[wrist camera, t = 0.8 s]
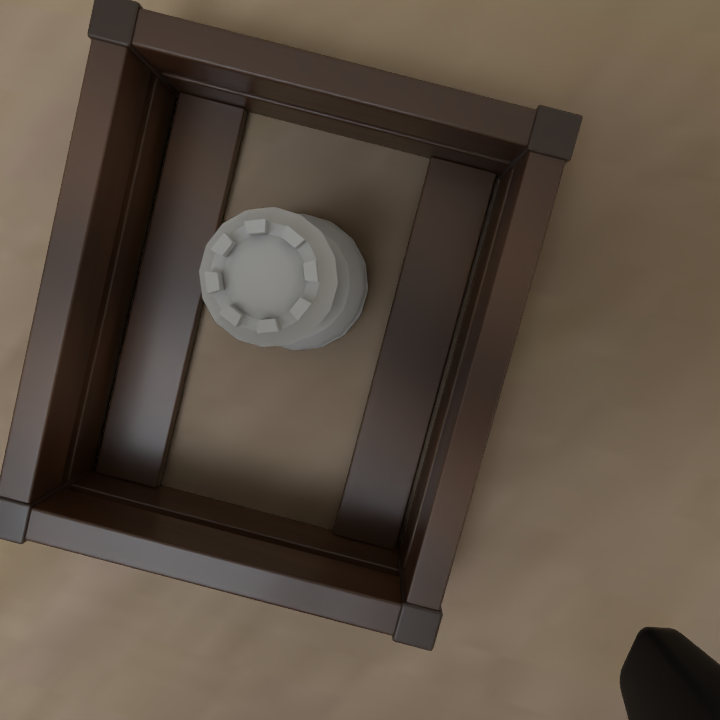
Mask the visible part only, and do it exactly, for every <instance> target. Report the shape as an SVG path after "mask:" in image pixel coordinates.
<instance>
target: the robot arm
mask: <svg viewBox="0 0 720 720" xmlns="http://www.w3.org/2000/svg"><path fill="white" fill-rule="evenodd" d="M620 688H621V693H622V696H623V700H624V704H625V708H626V711H627V715H628V719H629V720H720V664H718V663H717V662H716V661H715V660H713V659H712V658H711V657H710V656H708V655H707V654H706V653H705V652H704V651H702V650H701V649H700V648H699V647H697V646H696V645H695V644H694V643H692V642H691V641H690V640H689V639H687V638H686V637H685V636H684V635H683V634H681V633H680V632H678V631H677V630H675V629H671V628H659V627H645V628H643V629H642V630H640V631H639V632H638V634H637V636H636V638H635V641H634V643H633V645H632V647H631V649H630V651H629V654H628V656H627V658H626V660H625V662H624V665H623V667H622V670H621V674H620Z"/></svg>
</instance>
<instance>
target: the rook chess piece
mask: <svg viewBox="0 0 720 720" xmlns="http://www.w3.org/2000/svg"><path fill="white" fill-rule="evenodd" d="M199 275H200V283H201V291H202V299H203V300H204V302H205V304H206V306H207V308H208V309H209V311H210V313H211V315H212V317H213V318H214V320H215V322H216V323H217V324H218V325H220V326H221V327H222V328H223V329H225V330H226V331H227V332H228V333H230V334H231V335H232V336H233V337H235V338H236V339H237V340H240V341H244V342H247V343H250V344H254V345H257V346H261V347H270V346H279V347H283V348H286V349H289V350H303V349H313V348H321V347H323V346H325V345H327V344H329V343H331V342H333V341H334V340H336V339H338V338H340V337H342V336H344V335H345V334H346V332H347V331H348V330H349V329H350V327H351V326H352V325H353V324H354V322H355V321H356V320H357V319H358V318H359V316H360V315H361V312H362V309H363V306H364V302H365V299H366V295H367V292H368V281H367V271H366V262H365V261H364V259H363V257H362V255H361V253H360V251H359V249H358V248H357V246H356V244H355V242H354V240H353V239H352V238H351V237H350V236H349V235H347V234H346V233H345V232H344V231H343V230H341V229H340V228H339V227H338V226H336V225H335V224H334V223H333V222H331V221H327V220H324V219H321V218H317V217H314V216H311V215H307V214H304V213H302V214H296V213H293V212H290V211H286V210H283V209H280V208H276V207H268V208H259V209H250V210H246V211H244V212H242V213H240V214H238V215H237V216H235V217H233V218H231V219H230V220H228V221H226V222H224V223H223V224H222V225H221V226H220V228H219V229H218V230H217V232H216V233H215V234H214V235H213V237H212V238H211V239H210V241H209V242H208V243H207V244H206V247H205V251H204V255H203V258H202V262H201V266H200V270H199Z"/></svg>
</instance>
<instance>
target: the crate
mask: <svg viewBox="0 0 720 720" xmlns="http://www.w3.org/2000/svg"><path fill="white" fill-rule="evenodd" d="M88 37H89V38H90V39H91V40H92V41H91V46H90V51H89V55H88V60H87V65H86V70H85V75H84V79H83V84H82V89H81V94H80V98H79V103H78V108H77V113H76V117H75V122H74V127H73V132H72V136H71V141H70V146H69V151H68V156H67V160H66V165H65V170H64V175H63V179H62V184H61V189H60V194H59V198H58V203H57V208H56V213H55V218H54V222H53V227H52V232H51V237H50V241H49V246H48V251H47V256H46V260H45V265H44V270H43V275H42V280H41V284H40V289H39V294H38V299H37V303H36V308H35V313H34V318H33V322H32V327H31V332H30V337H29V341H28V346H27V351H26V356H25V361H24V365H23V370H22V375H21V380H20V384H19V389H18V394H17V399H16V403H15V408H14V413H13V418H12V423H11V427H10V432H9V437H8V442H7V446H6V451H5V456H4V461H3V465H2V470H1V475H0V539H3V540H7V541H11V542H15V543H19V544H23V543H25V542H26V541H32V542H36V543H39V544H43V545H47V546H51V547H55V548H59V549H62V550H66V551H70V552H74V553H78V554H82V555H85V556H89V557H93V558H97V559H101V560H105V561H108V562H112V563H116V564H120V565H124V566H128V567H131V568H135V569H139V570H143V571H147V572H150V573H154V574H158V575H162V576H166V577H170V578H173V579H177V580H181V581H185V582H189V583H193V584H196V585H200V586H204V587H208V588H212V589H216V590H219V591H223V592H227V593H231V594H235V595H239V596H242V597H246V598H250V599H254V600H258V601H262V602H265V603H269V604H273V605H277V606H281V607H284V608H288V609H292V610H296V611H300V612H304V613H307V614H311V615H315V616H319V617H323V618H327V619H330V620H334V621H338V622H342V623H346V624H350V625H353V626H357V627H361V628H365V629H369V630H373V631H376V632H380V633H384V634H388V635H392V639H393V641H395V642H398V643H402V644H406V645H410V646H414V647H418V648H421V649H425V650H429V651H432V649H433V648H434V644H435V641H436V637H437V633H438V630H439V626H440V623H441V619H442V616H443V613H442V608H441V604H442V600H443V597H444V593H445V590H446V586H447V583H448V579H449V575H450V572H451V568H452V565H453V561H454V558H455V554H456V551H457V547H458V543H459V540H460V536H461V533H462V529H463V526H464V522H465V518H466V515H467V511H468V508H469V504H470V501H471V497H472V493H473V490H474V486H475V483H476V479H477V476H478V472H479V468H480V465H481V461H482V458H483V454H484V451H485V447H486V443H487V440H488V436H489V433H490V429H491V426H492V422H493V418H494V415H495V411H496V408H497V404H498V401H499V397H500V393H501V390H502V386H503V383H504V379H505V376H506V372H507V369H508V365H509V361H510V358H511V354H512V351H513V347H514V344H515V340H516V336H517V333H518V329H519V326H520V322H521V319H522V315H523V311H524V308H525V304H526V301H527V297H528V294H529V290H530V286H531V283H532V279H533V276H534V272H535V269H536V265H537V261H538V258H539V254H540V251H541V247H542V244H543V240H544V236H545V233H546V229H547V226H548V222H549V219H550V215H551V211H552V208H553V204H554V201H555V197H556V194H557V190H558V187H559V183H560V179H561V176H562V172H563V169H564V165H565V164H566V163H567V162H568V161H570V160H571V157H572V154H573V150H574V146H575V143H576V139H577V136H578V132H579V129H580V125H581V122H582V116H581V115H578V114H574V113H570V112H566V111H562V110H558V109H554V108H550V107H546V106H542V105H539V106H538V107H537V109H536V110H535V109H532V108H528V107H524V106H520V105H516V104H512V103H508V102H504V101H500V100H497V99H493V98H489V97H485V96H481V95H477V94H473V93H469V92H465V91H461V90H458V89H454V88H450V87H446V86H442V85H438V84H434V83H430V82H426V81H422V80H419V79H415V78H411V77H407V76H403V75H399V74H395V73H391V72H387V71H383V70H380V69H376V68H372V67H368V66H364V65H360V64H356V63H352V62H348V61H345V60H341V59H337V58H333V57H329V56H325V55H321V54H317V53H313V52H309V51H306V50H302V49H298V48H294V47H290V46H286V45H282V44H278V43H274V42H270V41H267V40H263V39H259V38H255V37H251V36H247V35H243V34H239V33H235V32H231V31H228V30H224V29H220V28H216V27H212V26H208V25H204V24H200V23H196V22H193V21H189V20H185V19H181V18H177V17H173V16H169V15H165V14H161V13H157V12H154V11H150V10H146V9H143V7H142V6H141V5H140V4H139V3H138V2H136V1H132V0H94V5H93V10H92V15H91V20H90V24H89V29H88ZM176 96H179V97H178V102H177V106H176V111H175V115H174V120H173V124H172V129H171V133H170V138H169V142H168V147H167V151H166V155H165V160H164V164H163V169H162V173H161V178H160V182H159V187H158V191H157V196H156V200H155V205H154V209H153V214H152V218H151V223H150V227H149V231H148V236H147V240H146V245H145V249H144V254H143V258H142V263H141V267H140V272H139V276H138V281H137V285H136V290H135V294H134V299H133V303H132V308H131V312H130V316H129V321H128V325H127V330H126V334H125V339H124V343H123V348H122V352H121V357H120V361H119V366H118V370H117V375H116V379H115V384H114V388H113V393H112V397H111V401H110V406H109V410H108V415H107V419H106V424H105V428H104V433H103V437H102V442H101V446H100V451H99V455H98V460H97V464H96V466H94V463H95V459H96V454H97V450H98V445H99V441H100V436H101V432H102V428H103V423H104V419H105V414H106V410H107V405H108V401H109V396H110V392H111V387H112V383H113V378H114V374H115V369H116V365H117V360H118V356H119V351H120V347H121V342H122V338H123V333H124V329H125V325H126V320H127V316H128V311H129V307H130V302H131V298H132V293H133V289H134V284H135V280H136V275H137V271H138V266H139V262H140V257H141V253H142V248H143V244H144V239H145V235H146V230H147V226H148V221H149V217H150V213H151V208H152V204H153V199H154V195H155V190H156V186H157V181H158V177H159V172H160V168H161V163H162V159H163V154H164V150H165V145H166V141H167V136H168V132H169V127H170V123H171V118H172V114H173V110H174V105H175V101H176ZM247 111H248V112H252V113H256V114H260V115H264V116H268V117H272V118H275V119H279V120H283V121H287V122H291V123H295V124H299V125H303V126H307V127H310V128H314V129H318V130H322V131H326V132H330V133H334V134H338V135H342V136H345V137H349V138H353V139H357V140H361V141H365V142H369V143H373V144H377V145H380V146H384V147H388V148H392V149H396V150H400V151H404V152H408V153H412V154H415V155H419V156H423V157H427V158H431V159H430V162H429V166H428V169H427V173H426V177H425V181H424V185H423V188H422V192H421V196H420V200H419V204H418V208H417V211H416V215H415V219H414V223H413V227H412V231H411V234H410V238H409V242H408V246H407V250H406V254H405V257H404V261H403V265H402V269H401V273H400V277H399V280H398V284H397V288H396V292H395V296H394V300H393V303H392V307H391V311H390V315H389V319H388V323H387V326H386V330H385V334H384V338H383V342H382V346H381V349H380V353H379V357H378V361H377V365H376V369H375V372H374V376H373V380H372V384H371V388H370V392H369V395H368V399H367V403H366V407H365V411H364V415H363V418H362V422H361V426H360V430H359V434H358V438H357V441H356V445H355V449H354V453H353V457H352V460H351V464H350V468H349V472H348V476H347V480H346V483H345V487H344V491H343V495H342V499H341V503H340V506H339V510H338V514H337V518H336V522H335V526H334V530H329V529H325V528H321V527H318V526H314V525H310V524H306V523H302V522H298V521H294V520H291V519H287V518H283V517H279V516H275V515H271V514H268V513H264V512H260V511H256V510H252V509H248V508H245V507H241V506H237V505H233V504H229V503H225V502H222V501H218V500H214V499H210V498H206V497H202V496H199V495H195V494H191V493H187V492H183V491H179V490H175V489H172V488H168V487H164V486H160V484H161V481H162V476H163V472H164V468H165V463H166V459H167V455H168V451H169V446H170V442H171V438H172V434H173V429H174V425H175V421H176V416H177V412H178V408H179V404H180V399H181V395H182V391H183V386H184V382H185V378H186V374H187V369H188V365H189V361H190V356H191V352H192V348H193V344H194V339H195V335H196V331H197V327H198V322H199V318H200V314H201V309H202V305H203V301H204V300H203V299H202V291H201V283H200V275H199V270H200V266H201V262H202V258H203V255H204V251H205V247H206V244H207V243H208V242H209V241H210V239H211V238H212V237H213V235H214V234H215V233H216V232H217V230H218V229H219V228H220V226H221V224H222V220H223V215H224V211H225V207H226V202H227V198H228V194H229V190H230V185H231V181H232V177H233V173H234V168H235V164H236V160H237V155H238V151H239V147H240V143H241V138H242V134H243V130H244V125H245V121H246V117H247ZM496 176H498V179H500V183H499V187H498V191H497V194H496V198H495V202H494V205H493V209H492V213H491V216H490V220H489V224H488V227H487V231H486V235H485V238H484V242H483V246H482V249H481V253H480V257H479V260H478V264H477V268H476V272H475V275H474V279H473V283H472V286H471V290H470V294H469V297H468V301H467V305H466V308H465V312H464V316H463V319H462V323H461V327H460V330H459V334H458V338H457V341H456V345H455V349H454V352H453V356H452V360H451V364H450V367H449V371H448V375H447V378H446V382H445V386H444V389H443V393H442V397H441V400H440V404H439V408H438V411H437V415H436V419H435V422H434V426H433V430H432V433H431V437H430V441H429V444H428V448H427V452H426V456H425V459H424V463H423V467H422V470H421V474H420V478H419V481H418V485H417V489H416V492H415V496H414V500H413V503H412V507H411V511H410V514H409V518H408V522H407V525H406V529H405V533H404V536H403V540H402V544H401V545H400V546H398V547H396V545H397V541H398V537H399V534H400V530H401V526H402V522H403V519H404V515H405V511H406V508H407V504H408V500H409V497H410V493H411V489H412V486H413V482H414V478H415V475H416V471H417V467H418V463H419V460H420V456H421V452H422V449H423V445H424V441H425V438H426V434H427V430H428V427H429V423H430V419H431V415H432V412H433V408H434V404H435V401H436V397H437V393H438V390H439V386H440V382H441V379H442V375H443V371H444V368H445V364H446V360H447V356H448V353H449V349H450V345H451V342H452V338H453V334H454V331H455V327H456V323H457V320H458V316H459V312H460V308H461V305H462V301H463V297H464V294H465V290H466V286H467V283H468V279H469V275H470V272H471V268H472V264H473V261H474V257H475V253H476V249H477V246H478V242H479V238H480V235H481V231H482V227H483V224H484V220H485V216H486V213H487V209H488V205H489V201H490V198H491V194H492V190H493V187H494V183H495V179H496Z"/></svg>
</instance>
